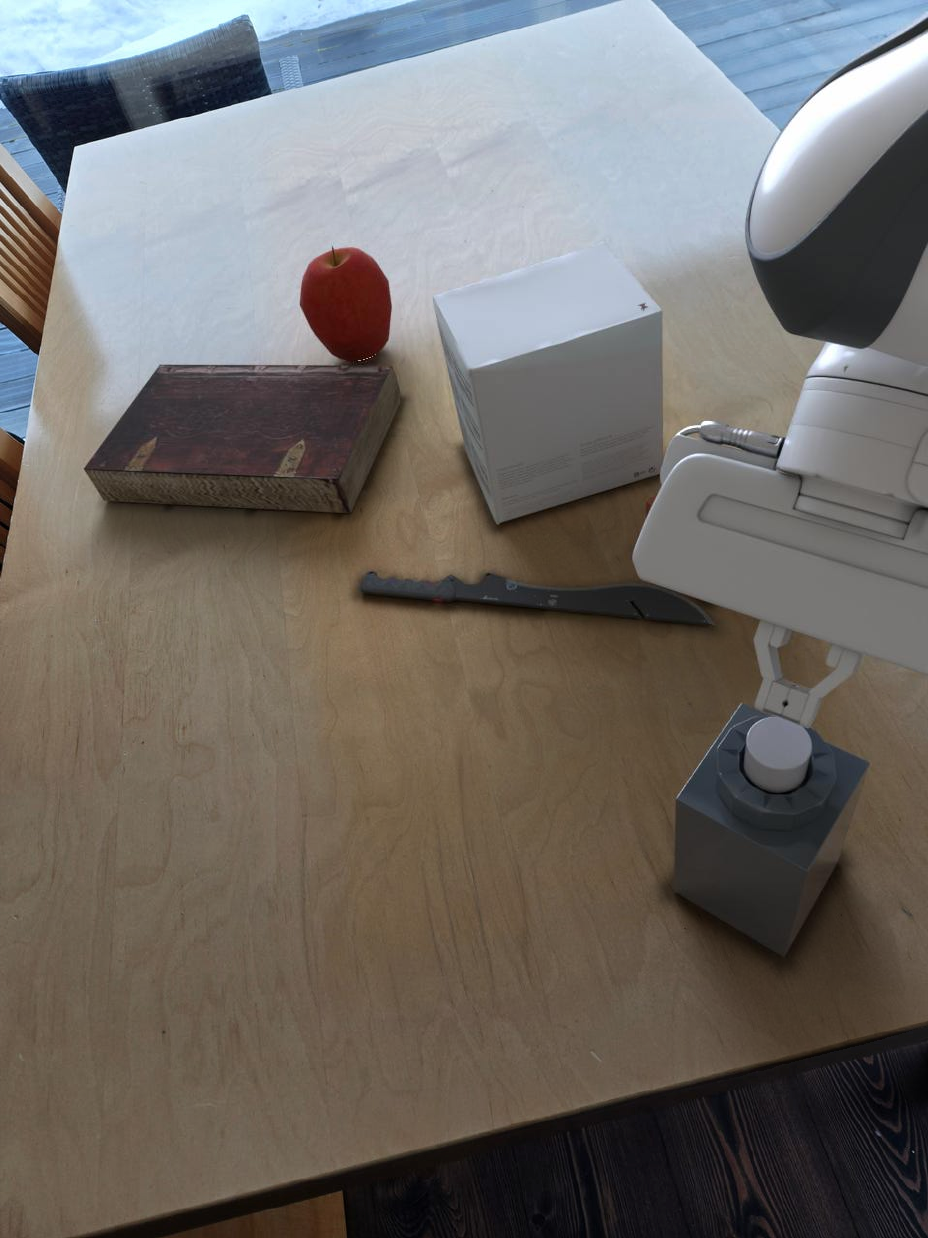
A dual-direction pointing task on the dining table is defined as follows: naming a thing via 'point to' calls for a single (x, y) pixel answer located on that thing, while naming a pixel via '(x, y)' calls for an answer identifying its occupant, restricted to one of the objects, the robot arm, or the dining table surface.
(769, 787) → the cylinder
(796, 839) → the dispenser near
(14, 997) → the dining table surface
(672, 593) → the knife
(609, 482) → the supplement box
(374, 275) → the apple
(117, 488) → the book
